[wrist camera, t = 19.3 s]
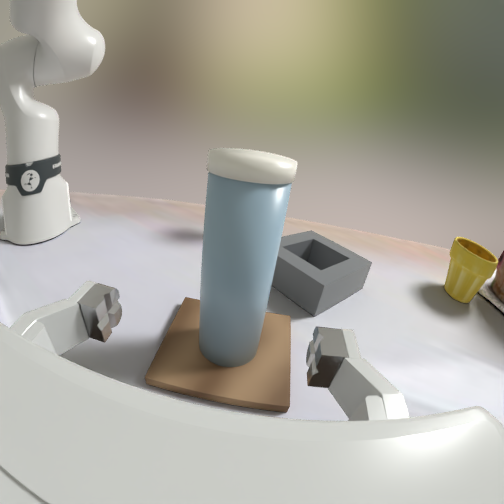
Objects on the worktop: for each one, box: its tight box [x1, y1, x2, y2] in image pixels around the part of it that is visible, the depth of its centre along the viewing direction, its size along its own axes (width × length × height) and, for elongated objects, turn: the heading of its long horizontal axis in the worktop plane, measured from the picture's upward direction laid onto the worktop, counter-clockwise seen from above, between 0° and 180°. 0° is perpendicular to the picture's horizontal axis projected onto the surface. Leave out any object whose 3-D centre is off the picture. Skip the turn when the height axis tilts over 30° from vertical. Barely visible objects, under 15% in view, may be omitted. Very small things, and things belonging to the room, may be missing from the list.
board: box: [145, 297, 291, 412], centre depth 25 cm, size 12×12×1 cm
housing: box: [272, 231, 372, 317], centre depth 38 cm, size 12×12×4 cm
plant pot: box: [444, 237, 498, 303], centre depth 39 cm, size 10×10×10 cm
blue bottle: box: [199, 148, 298, 367], centre depth 21 cm, size 6×6×17 cm
